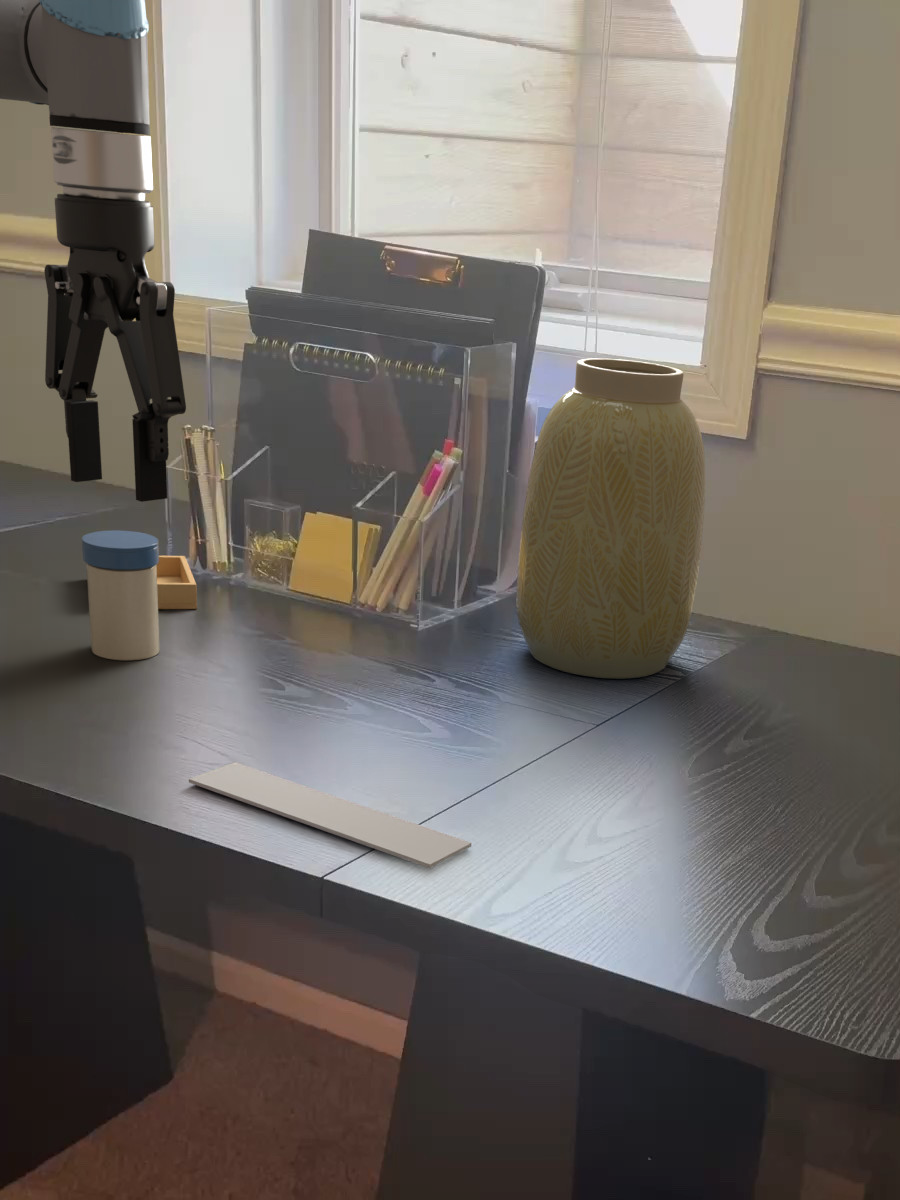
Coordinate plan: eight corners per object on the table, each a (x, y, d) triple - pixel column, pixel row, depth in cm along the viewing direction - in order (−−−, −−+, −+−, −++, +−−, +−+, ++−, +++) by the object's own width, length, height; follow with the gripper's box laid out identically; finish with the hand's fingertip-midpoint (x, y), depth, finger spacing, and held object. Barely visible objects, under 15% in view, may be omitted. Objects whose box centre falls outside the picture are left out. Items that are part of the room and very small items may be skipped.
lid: (67, 556, 129) (65, 535, 128) (127, 547, 134) (126, 527, 133) (114, 573, 126) (113, 551, 125) (174, 563, 130) (173, 542, 129)
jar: (77, 648, 133) (70, 541, 128) (131, 636, 137) (126, 533, 133) (119, 664, 130) (114, 556, 125) (173, 652, 134) (170, 547, 129)
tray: (90, 578, 153) (89, 554, 152) (185, 579, 156) (185, 555, 155) (96, 609, 144) (95, 583, 143) (197, 609, 147) (196, 584, 146)
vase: (568, 693, 134) (600, 380, 121) (479, 638, 146) (500, 349, 133) (719, 678, 142) (764, 383, 129) (622, 627, 155) (655, 354, 142)
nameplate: (235, 766, 111) (188, 783, 107) (235, 762, 111) (188, 778, 107) (471, 847, 102) (429, 869, 98) (471, 842, 102) (430, 864, 98)
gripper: (-17, 180, 118) (8, 471, 129) (151, 203, 108) (162, 518, 118) (62, 185, 124) (79, 463, 135) (229, 207, 113) (233, 508, 124)
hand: (118, 489), depth 126 cm, fingers open, 8 cm apart
